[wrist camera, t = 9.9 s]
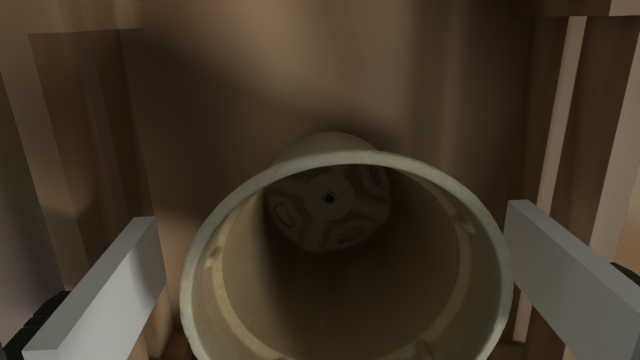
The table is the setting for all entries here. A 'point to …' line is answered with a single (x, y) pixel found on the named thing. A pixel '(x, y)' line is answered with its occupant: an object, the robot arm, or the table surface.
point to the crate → (319, 115)
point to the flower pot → (346, 263)
